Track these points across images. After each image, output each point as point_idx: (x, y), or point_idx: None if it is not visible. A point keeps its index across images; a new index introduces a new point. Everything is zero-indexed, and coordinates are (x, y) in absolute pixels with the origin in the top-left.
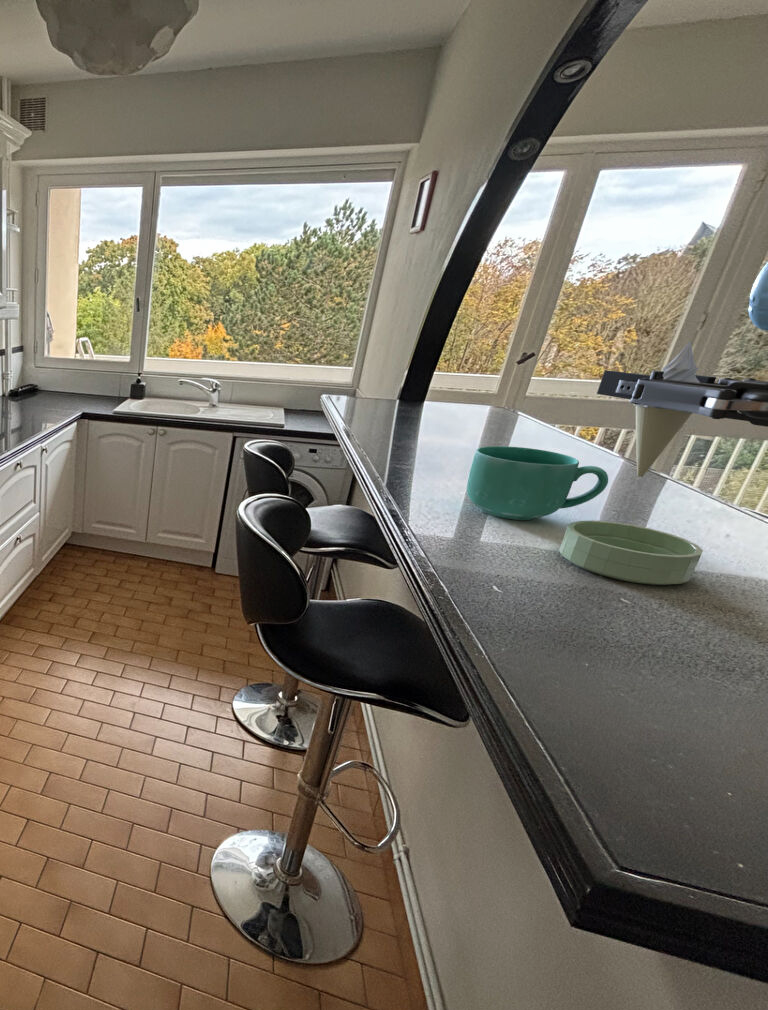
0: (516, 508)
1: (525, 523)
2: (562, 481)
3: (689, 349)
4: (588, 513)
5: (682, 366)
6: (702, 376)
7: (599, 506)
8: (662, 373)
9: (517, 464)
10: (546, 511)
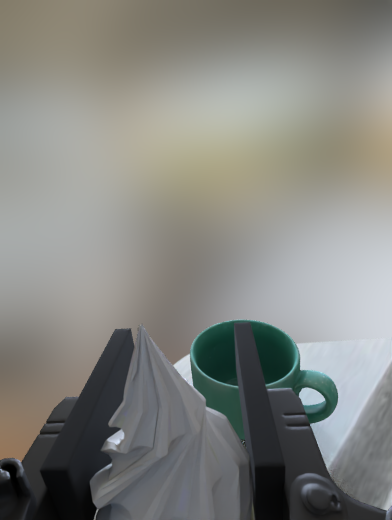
0: None
1: (245, 444)
2: None
3: (141, 360)
4: (349, 404)
5: (127, 430)
6: (252, 437)
7: (374, 381)
8: (20, 480)
9: (205, 379)
10: None
